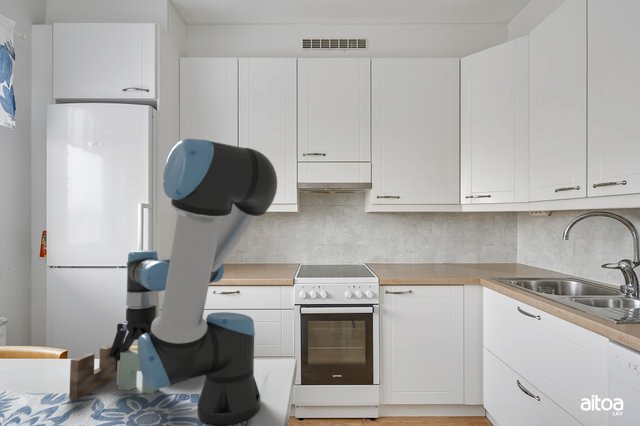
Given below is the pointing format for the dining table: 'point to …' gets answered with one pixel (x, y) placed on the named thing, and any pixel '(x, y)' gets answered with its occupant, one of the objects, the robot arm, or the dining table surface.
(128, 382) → the notched mint block
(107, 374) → the wooden u-shaped stand
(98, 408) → the dining table surface
